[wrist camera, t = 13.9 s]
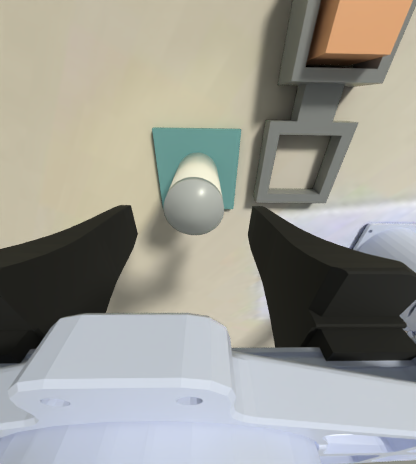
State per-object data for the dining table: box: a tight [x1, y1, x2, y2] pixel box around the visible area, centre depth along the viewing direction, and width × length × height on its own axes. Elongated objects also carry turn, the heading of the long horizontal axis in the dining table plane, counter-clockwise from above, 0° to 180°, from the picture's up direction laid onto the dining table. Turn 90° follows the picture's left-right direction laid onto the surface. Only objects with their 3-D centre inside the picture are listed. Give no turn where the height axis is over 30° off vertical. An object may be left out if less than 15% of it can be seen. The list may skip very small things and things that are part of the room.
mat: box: [152, 128, 241, 209], centre depth 19 cm, size 8×8×1 cm
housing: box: [253, 0, 416, 203], centre depth 15 cm, size 16×8×3 cm, turn 179°
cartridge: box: [164, 152, 224, 235], centre depth 16 cm, size 4×4×8 cm
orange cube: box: [306, 0, 413, 66], centre depth 12 cm, size 4×4×4 cm
